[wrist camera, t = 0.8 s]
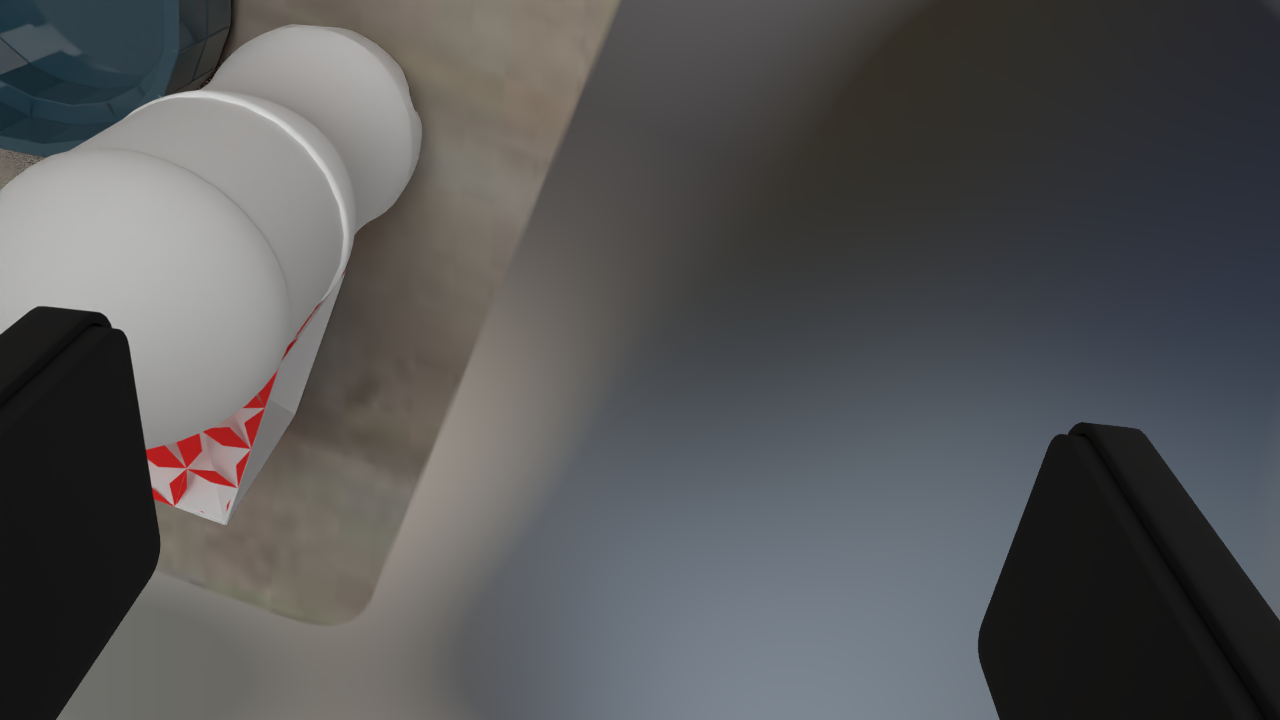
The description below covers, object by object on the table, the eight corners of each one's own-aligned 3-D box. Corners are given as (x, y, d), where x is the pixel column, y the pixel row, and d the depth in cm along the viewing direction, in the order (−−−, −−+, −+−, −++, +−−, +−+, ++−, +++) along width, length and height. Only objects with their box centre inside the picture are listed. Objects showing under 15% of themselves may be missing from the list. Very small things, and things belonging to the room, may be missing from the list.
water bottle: (268, -23, 36) (-354, 253, 14) (459, 55, 37) (148, 421, 16) (231, 156, 40) (-320, 600, 18) (407, 223, 41) (91, 717, 19)
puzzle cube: (158, 190, 40) (49, 272, 33) (346, 270, 42) (280, 364, 35) (120, 348, 44) (15, 451, 37) (294, 416, 45) (225, 527, 39)
